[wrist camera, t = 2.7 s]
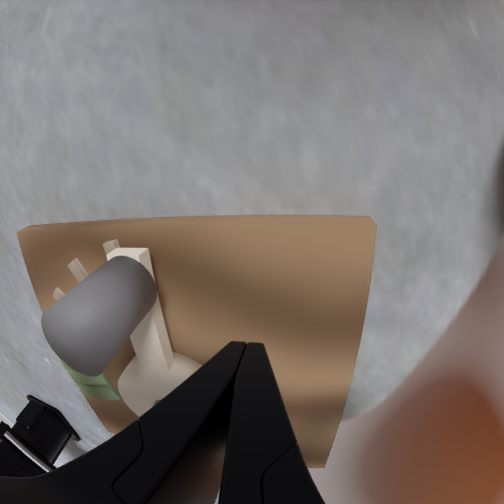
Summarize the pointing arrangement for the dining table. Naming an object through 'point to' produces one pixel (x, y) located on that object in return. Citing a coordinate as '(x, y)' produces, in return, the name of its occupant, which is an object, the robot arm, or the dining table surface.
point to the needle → (119, 329)
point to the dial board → (232, 300)
